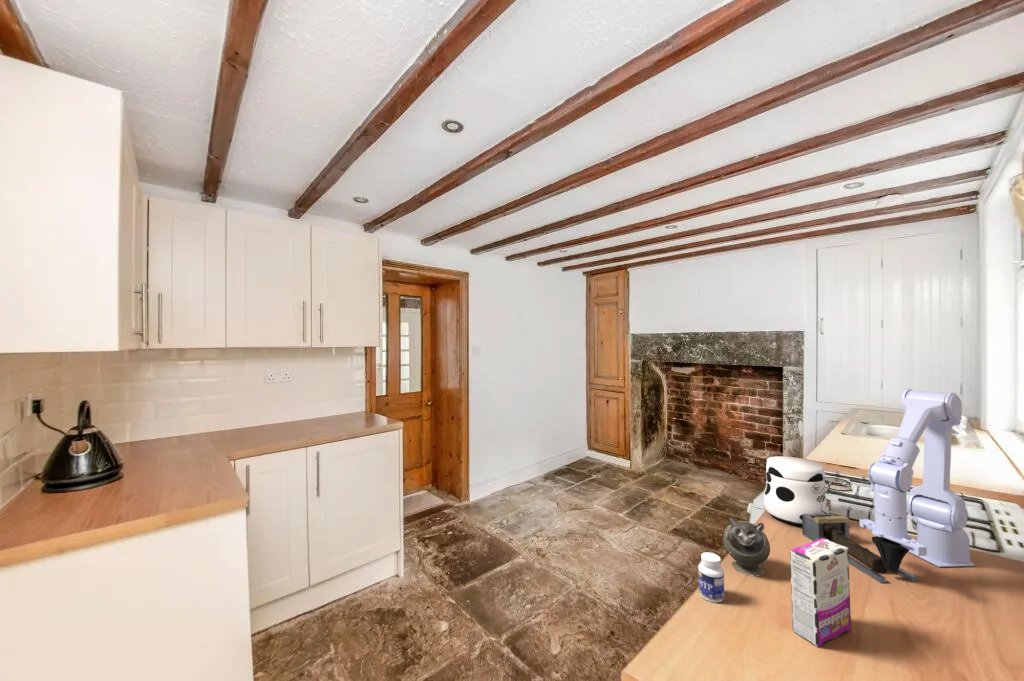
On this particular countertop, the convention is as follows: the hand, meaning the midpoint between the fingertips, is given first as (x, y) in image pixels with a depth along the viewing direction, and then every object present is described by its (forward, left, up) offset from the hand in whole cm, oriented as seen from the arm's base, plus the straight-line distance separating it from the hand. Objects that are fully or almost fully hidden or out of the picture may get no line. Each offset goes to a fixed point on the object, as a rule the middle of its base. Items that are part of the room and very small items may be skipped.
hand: (891, 570), depth 96 cm
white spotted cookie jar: (-2, -33, -2) cm, 33 cm away
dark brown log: (0, -11, -2) cm, 12 cm away
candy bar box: (+31, +16, -2) cm, 35 cm away
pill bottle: (+47, +4, -2) cm, 47 cm away
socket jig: (0, -10, -2) cm, 10 cm away
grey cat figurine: (+32, -6, -2) cm, 33 cm away
